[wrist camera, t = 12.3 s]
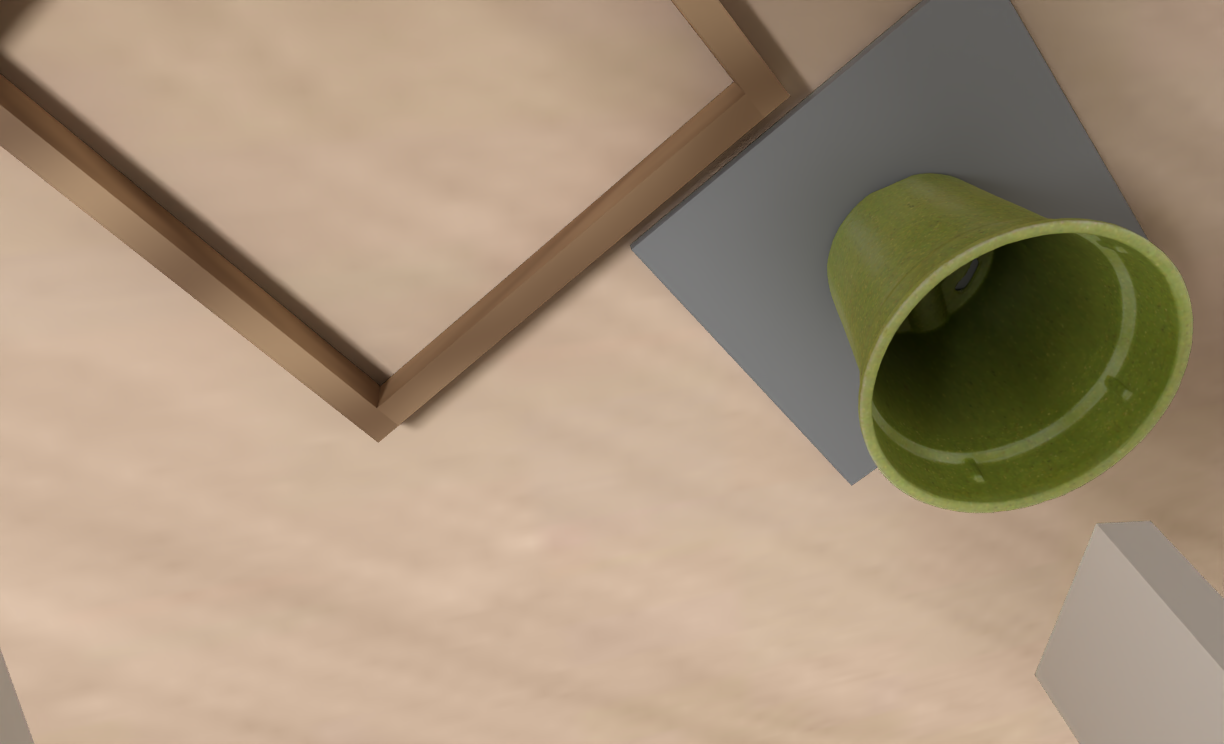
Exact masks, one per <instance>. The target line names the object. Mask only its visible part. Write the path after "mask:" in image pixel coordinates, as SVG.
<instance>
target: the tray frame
mask: <svg viewBox="0 0 1224 744" xmlns="http://www.w3.org/2000/svg"><path fill="white" fill-rule="evenodd" d="M671 1H672V2H673V3H674V5H675V6H676V7H677V9H678V10H679V11H680V12H681V14H682V15H683V16H684V18H685V19H686V20H687V21H688V23H689V24H690V25H691V27H692V28H693V29H694V30H695V32H696V33H697V34H698V36H699V37H700V38H701V39H702V41H703V42H704V43H705V45H706V46H707V47H708V49H709V50H710V51H711V52H712V54H713V55H714V56H715V58H716V59H717V60H718V61H719V63H720V64H721V65H722V67H723V68H724V69H725V70H726V72H727V73H728V74H729V76H730V77H731V78H732V79H733V81H734V82H733V83H732V84H731V85H730V86H729V87H727V88H726V89H725V90H724V91H723V92H722V93H720V94H719V95H718V96H717V97H716V98H715V99H713V100H712V101H711V102H710V103H709V104H708V105H706V106H705V107H704V108H703V109H702V110H701V111H700V112H698V113H697V114H696V115H695V116H694V117H693V118H691V119H690V120H689V121H688V122H687V123H686V124H684V125H683V126H682V127H681V128H680V129H679V130H677V131H676V132H675V133H674V134H673V135H672V136H670V137H669V138H668V139H667V140H666V141H665V142H663V143H662V144H661V145H660V146H659V147H658V148H656V149H655V150H654V151H653V152H652V153H651V154H650V155H648V156H647V157H646V158H645V159H644V160H643V161H641V162H640V163H639V164H638V165H637V166H636V167H634V168H633V169H632V170H631V171H630V172H629V173H627V174H626V175H625V176H624V177H623V178H622V179H620V180H619V181H618V182H617V183H616V184H615V185H613V186H612V187H611V188H610V189H609V190H608V191H607V192H605V193H604V194H603V195H602V196H601V197H600V198H598V199H597V200H596V201H595V202H594V203H593V204H591V205H590V206H589V207H588V208H587V209H586V210H584V211H583V212H582V213H581V214H580V215H579V216H577V217H576V218H575V219H574V220H573V221H572V222H570V223H569V224H568V225H567V226H566V227H565V228H563V229H562V230H561V231H560V232H559V233H558V234H557V235H555V236H554V237H553V238H552V239H551V240H550V241H548V242H547V243H546V244H545V245H544V246H543V247H541V248H540V249H539V250H538V251H537V252H536V253H534V254H533V255H532V256H531V257H530V258H529V259H527V260H526V261H525V262H524V263H523V264H522V265H520V266H519V267H518V268H517V269H516V270H515V271H513V272H512V273H511V274H510V275H509V276H508V277H507V278H505V279H504V280H503V281H502V282H501V283H500V284H498V285H497V286H496V287H495V288H494V289H493V290H491V291H490V292H489V293H488V294H487V295H486V296H484V297H483V298H482V299H481V300H480V301H479V302H477V303H476V304H475V305H474V306H473V307H472V308H470V309H469V310H468V311H467V312H466V313H465V314H464V315H462V316H461V317H460V318H459V319H458V320H457V321H455V322H454V323H453V324H452V325H451V326H450V327H448V328H447V329H446V330H445V331H444V332H443V333H441V334H440V335H439V336H438V337H437V338H436V339H434V340H433V341H432V342H431V343H430V344H429V345H427V346H426V347H425V348H424V349H423V350H422V351H420V352H419V353H418V354H417V355H416V356H415V357H414V358H412V359H411V360H410V361H409V362H408V363H407V364H405V365H404V366H403V367H402V368H401V369H400V370H398V371H397V372H396V373H395V374H394V375H393V376H391V377H390V378H389V379H388V380H387V381H386V382H384V383H383V384H382V385H381V386H380V385H378V384H377V383H376V382H375V381H374V380H372V379H371V378H370V377H369V376H367V375H366V374H365V373H364V372H363V371H361V370H360V369H359V368H358V367H357V366H355V365H354V364H353V363H352V362H350V361H349V360H348V359H347V358H346V357H344V356H343V355H342V354H341V353H339V352H338V351H337V350H336V349H335V348H333V347H332V346H331V345H330V344H329V343H327V342H326V341H325V340H324V339H322V338H321V337H320V336H319V335H318V334H316V333H315V332H314V331H313V330H311V329H310V328H309V327H308V326H307V325H305V324H304V323H303V322H302V321H301V320H299V319H298V318H297V317H296V316H294V315H293V314H292V313H291V312H290V311H288V310H287V309H286V308H285V307H284V306H282V305H281V304H280V303H279V302H277V301H276V300H275V299H274V298H273V297H271V296H270V295H269V294H268V293H266V292H265V291H264V290H263V289H262V288H260V287H259V286H258V285H257V284H256V283H254V282H253V281H252V280H251V279H249V278H248V277H247V276H246V275H245V274H243V273H242V272H241V271H240V270H238V269H237V268H236V267H235V266H234V265H232V264H231V263H230V262H229V261H228V260H226V259H225V258H224V257H223V256H221V255H220V254H219V253H218V252H217V251H215V250H214V249H213V248H212V247H211V246H209V245H208V244H207V243H206V242H204V241H203V240H202V239H201V238H200V237H198V236H197V235H196V234H195V233H193V232H192V231H191V230H190V229H189V228H187V227H186V226H185V225H184V224H183V223H181V222H180V221H179V220H178V219H176V218H175V217H174V216H173V215H172V214H170V213H169V212H168V211H167V210H165V209H164V208H163V207H162V206H161V205H159V204H158V203H157V202H156V201H155V200H153V199H152V198H151V197H150V196H148V195H147V194H146V193H145V192H144V191H142V190H141V189H140V188H139V187H138V186H136V185H135V184H134V183H133V182H131V181H130V180H129V179H128V178H127V177H125V176H124V175H123V174H122V173H120V172H119V171H118V170H117V169H116V168H114V167H113V166H112V165H111V164H110V163H108V162H107V161H106V160H105V159H103V158H102V157H101V156H100V155H99V154H97V153H96V152H95V151H94V150H92V149H91V148H90V147H89V146H88V145H86V144H85V143H84V142H83V141H82V140H80V139H79V138H78V137H77V136H75V135H74V134H73V133H72V132H71V131H69V130H68V129H67V128H66V127H64V126H63V125H62V124H61V123H60V122H58V121H57V120H56V119H55V118H54V117H52V116H51V115H50V114H49V113H47V112H46V111H45V110H44V109H43V108H41V107H40V106H39V105H38V104H37V103H35V102H34V101H33V100H32V99H30V98H29V97H28V96H27V95H26V94H24V93H23V92H22V91H21V90H19V89H18V88H17V87H16V86H15V85H13V84H12V83H11V82H10V81H9V80H7V79H6V78H5V77H4V76H2V75H1V74H0V146H2V147H3V148H4V149H5V150H7V151H8V152H9V153H10V154H12V155H13V156H14V157H16V158H17V159H18V160H19V161H21V162H22V163H23V164H24V165H26V166H27V167H28V168H30V169H31V170H32V171H33V172H35V173H36V174H37V175H38V176H40V177H41V178H42V179H44V180H45V181H46V182H47V183H49V184H50V185H51V186H52V187H54V188H55V189H56V190H58V191H59V192H60V193H61V194H63V195H64V196H65V197H66V198H68V199H69V200H70V201H72V202H73V203H74V204H75V205H77V206H78V207H79V208H80V209H82V210H83V211H84V212H85V213H87V214H88V215H89V216H91V217H92V218H93V219H94V220H96V221H97V222H98V223H99V224H101V225H102V226H103V227H105V228H106V229H107V230H108V231H110V232H111V233H112V234H113V235H115V236H116V237H117V238H119V239H120V240H121V241H122V242H124V243H125V244H126V245H127V246H129V247H130V248H131V249H133V250H134V251H135V252H136V253H138V254H139V255H140V256H141V257H143V258H144V259H145V260H147V261H148V262H149V263H150V264H152V265H153V266H154V267H155V268H157V269H158V270H159V271H161V272H162V273H163V274H164V275H166V276H167V277H168V278H169V279H171V280H172V281H173V282H175V283H176V284H177V285H178V286H180V287H181V288H182V289H183V290H185V291H186V292H187V293H189V294H190V295H191V296H192V297H194V298H195V299H196V300H197V301H199V302H200V303H201V304H203V305H204V306H205V307H206V308H208V309H209V310H210V311H211V312H213V313H214V314H215V315H217V316H218V317H219V318H220V319H222V320H223V321H224V322H225V323H227V324H228V325H229V326H231V327H232V328H233V329H234V330H236V331H237V332H238V333H239V334H241V335H242V336H243V337H245V338H246V339H247V340H248V341H250V342H251V343H252V344H253V345H255V346H256V347H257V348H259V349H260V350H261V351H262V352H264V353H265V354H266V355H267V356H269V357H270V358H271V359H273V360H274V361H275V362H276V363H278V364H279V365H280V366H281V367H283V368H284V369H285V370H287V371H288V372H289V373H290V374H292V375H293V376H294V377H295V378H297V379H298V380H299V381H300V382H302V383H303V384H304V385H306V386H307V387H308V388H309V389H311V390H312V391H313V392H314V393H316V394H317V395H318V396H320V397H321V398H322V399H323V400H325V401H326V402H327V403H328V404H330V405H331V406H332V407H334V408H335V409H336V410H337V411H339V412H340V413H341V414H342V415H344V416H345V417H346V418H348V419H349V420H350V421H351V422H353V423H354V424H355V425H356V426H358V427H359V428H360V429H362V430H363V431H364V432H365V433H367V434H368V435H369V436H370V437H372V438H373V439H374V440H376V441H377V442H380V441H381V440H382V439H383V438H384V437H386V436H387V435H388V434H389V433H390V432H392V431H393V430H394V429H395V428H396V427H397V426H399V425H400V424H401V423H402V422H403V421H405V420H406V419H407V418H408V417H409V416H411V415H412V414H413V413H414V412H415V411H417V410H418V409H419V408H420V407H421V406H422V405H424V404H425V403H426V402H427V401H428V400H430V399H431V398H432V397H433V396H434V395H436V394H437V393H438V392H439V391H440V390H441V389H443V388H444V387H445V386H446V385H447V384H449V383H450V382H451V381H452V380H453V379H455V378H456V377H457V376H458V375H459V374H461V373H462V372H463V371H464V370H465V369H466V368H468V367H469V366H470V365H471V364H472V363H474V362H475V361H476V360H477V359H478V358H480V357H481V356H482V355H483V354H484V353H485V352H487V351H488V350H489V349H490V348H491V347H493V346H494V345H495V344H496V343H497V342H499V341H500V340H501V339H502V338H503V337H505V336H506V335H507V334H508V333H509V332H510V331H512V330H513V329H514V328H515V327H516V326H518V325H519V324H520V323H521V322H522V321H524V320H525V319H526V318H527V317H528V316H529V315H531V314H532V313H533V312H534V311H535V310H537V309H538V308H539V307H540V306H541V305H543V304H544V303H545V302H546V301H547V300H549V299H550V298H551V297H552V296H553V295H554V294H556V293H557V292H558V291H559V290H560V289H562V288H563V287H564V286H565V285H566V284H568V283H569V282H570V281H571V280H572V279H573V278H575V277H576V276H577V275H578V274H579V273H581V272H582V271H583V270H584V269H585V268H587V267H588V266H589V265H590V264H591V263H593V262H594V261H595V260H596V259H597V258H598V257H600V256H601V255H602V254H603V253H604V252H606V251H607V250H608V249H609V248H610V247H612V246H613V245H614V244H615V243H616V242H618V241H619V240H620V239H621V238H622V237H623V236H625V235H626V234H627V233H628V232H629V231H631V230H632V229H633V228H634V227H635V226H637V225H638V224H639V223H640V222H641V221H642V220H644V219H645V218H646V217H647V216H648V215H650V214H651V213H652V212H653V211H654V210H656V209H657V208H658V207H659V206H660V205H662V204H663V203H664V202H665V201H666V200H667V199H669V198H670V197H671V196H672V195H673V194H675V193H676V192H677V191H678V190H679V189H681V188H682V187H683V186H684V185H685V184H686V183H688V182H689V181H690V180H691V179H692V178H694V177H695V176H696V175H697V174H698V173H700V172H701V171H702V170H703V169H704V168H706V167H707V166H708V165H709V164H710V163H711V162H713V161H714V160H715V159H716V158H717V157H719V156H720V155H721V154H722V153H723V152H725V151H726V150H727V149H728V148H729V147H730V146H732V145H733V144H734V143H735V142H736V141H738V140H739V139H740V138H741V137H742V136H744V135H745V134H746V133H747V132H748V131H750V130H751V129H752V128H753V127H754V126H755V125H757V124H758V123H759V122H760V121H761V120H763V119H764V118H765V117H766V116H767V115H769V114H770V113H771V112H772V111H773V110H774V109H776V108H777V107H778V106H779V105H780V104H782V103H783V102H784V101H785V100H786V99H788V98H789V97H790V95H789V94H788V92H787V91H786V90H785V88H784V87H783V86H782V84H781V83H780V82H779V80H778V79H777V78H776V76H775V75H774V74H773V72H772V71H771V70H770V68H769V67H768V66H767V64H766V63H765V62H764V60H763V59H762V57H761V56H760V55H759V53H758V52H757V51H756V49H755V48H754V47H753V45H752V44H751V43H750V41H749V40H748V39H747V37H746V36H745V35H744V33H743V32H742V31H741V29H740V28H739V27H738V25H737V24H736V23H735V21H734V20H733V19H732V17H731V16H730V15H729V13H728V12H727V11H726V9H725V8H724V7H723V5H722V4H721V3H720V1H719V0H671Z"/></svg>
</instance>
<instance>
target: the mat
mask: <svg viewBox="0 0 1224 744" xmlns="http://www.w3.org/2000/svg"><path fill="white" fill-rule="evenodd" d="M926 173H934V174H943V175H948V176H952V177H955V178H958V179H960V180H963V181H965V182H967V183H969V184H971V185H973V186H975V187H978V188H980V189H982V190H984V191H986V192H988V193H991V194H993V195H995V196H997V197H1000V198H1002V199H1004V200H1007V201H1009V202H1011V203H1014V204H1016V205H1018V206H1021V207H1023V208H1025V209H1027V210H1029V211H1032V212H1034V213H1036V214H1038V215H1041V216H1043V217H1045V218H1050V219H1059V218H1081V219H1091V220H1097V221H1103V222H1107V223H1112V224H1115V225H1118V226H1121V227H1123V228H1126V229H1128V230H1130V231H1132V232H1134V233H1136V234H1138V235H1140V236H1142V237H1143V238H1145V239H1147V240H1148V238H1147V237H1146V235H1145V233H1144V232H1143V230H1142V228H1141V226H1140V225H1139V223H1138V221H1137V219H1136V218H1135V216H1134V214H1133V213H1132V211H1131V209H1130V207H1129V206H1128V204H1127V202H1126V200H1125V199H1124V197H1123V195H1122V194H1121V192H1120V190H1119V188H1118V187H1117V185H1116V183H1115V181H1114V180H1113V178H1112V176H1111V175H1110V173H1109V171H1108V169H1107V168H1106V166H1105V164H1104V162H1103V161H1102V159H1101V157H1100V155H1099V154H1098V152H1097V150H1096V149H1095V147H1094V145H1093V143H1092V142H1091V140H1090V138H1089V136H1088V135H1087V133H1086V131H1085V130H1084V128H1083V126H1082V124H1081V123H1080V121H1079V119H1078V117H1077V116H1076V114H1075V112H1074V111H1073V109H1072V107H1071V105H1070V104H1069V102H1068V100H1067V98H1066V97H1065V95H1064V93H1063V92H1062V90H1061V88H1060V86H1059V85H1058V83H1057V81H1056V79H1055V78H1054V76H1053V74H1052V73H1051V71H1050V69H1049V67H1048V66H1047V64H1046V62H1045V60H1044V59H1043V57H1042V55H1041V53H1040V52H1039V50H1038V48H1037V47H1036V45H1035V43H1034V41H1033V40H1032V38H1031V36H1030V34H1029V33H1028V31H1027V29H1026V28H1025V26H1024V24H1023V22H1022V21H1021V19H1020V17H1019V15H1018V14H1017V12H1016V10H1015V9H1014V7H1013V5H1012V3H1011V2H1010V0H922V1H921V2H920V3H919V4H918V5H916V6H915V7H914V8H913V9H912V10H910V11H909V12H908V13H907V14H906V15H904V16H903V17H902V18H901V19H900V20H899V21H897V22H896V23H895V24H894V25H893V26H891V27H890V28H889V29H888V30H887V31H885V32H884V33H883V34H882V35H881V36H879V37H878V38H877V39H876V40H875V41H873V42H872V43H871V44H870V45H869V46H867V47H866V48H865V49H864V50H863V51H861V52H860V53H859V54H858V55H857V56H855V57H854V58H853V59H852V60H851V61H849V62H848V63H847V64H846V65H845V66H844V67H842V68H841V69H840V70H839V71H838V72H836V73H835V74H834V75H833V76H832V77H830V78H829V79H828V80H827V81H826V82H824V83H823V84H822V85H821V86H820V87H818V88H817V89H816V90H815V91H814V92H812V93H811V94H810V95H809V96H808V97H806V98H805V99H804V100H803V101H802V102H800V103H799V104H798V105H797V106H796V107H794V108H793V109H792V110H791V111H790V112H789V113H787V114H786V115H785V116H784V117H783V118H781V119H780V120H779V121H778V122H777V123H775V124H774V125H773V126H772V127H771V128H769V129H768V130H767V131H766V132H765V133H763V134H762V135H761V136H760V137H759V138H757V139H756V140H755V141H754V142H753V143H751V144H750V145H749V146H748V147H747V148H745V149H744V150H743V151H742V152H741V153H739V154H738V155H737V156H736V157H735V158H734V159H732V160H731V161H730V162H729V163H728V164H726V165H725V166H724V167H723V168H722V169H720V170H719V171H718V172H717V173H716V174H714V175H713V176H712V177H711V178H710V179H708V180H707V181H706V182H705V183H704V184H702V185H701V186H700V187H699V188H698V189H696V190H695V191H694V192H693V193H692V194H690V195H689V196H688V197H687V198H686V199H684V200H683V201H682V202H681V203H680V204H679V205H677V206H676V207H675V208H674V209H673V210H671V211H670V212H669V213H668V214H667V215H665V216H664V217H663V218H662V219H661V220H659V221H658V222H657V223H656V224H655V225H653V226H652V227H651V228H650V229H649V230H647V231H646V232H645V233H644V234H643V235H641V236H640V237H639V238H638V239H637V240H635V241H634V242H633V243H632V244H631V245H630V247H631V250H632V251H633V252H634V253H635V254H636V255H637V256H638V257H639V258H640V259H641V261H642V262H643V263H644V264H645V265H646V266H647V267H648V268H649V269H650V270H651V271H652V272H653V273H654V274H655V276H656V277H657V278H658V279H659V280H660V281H661V282H662V283H663V284H664V285H665V286H666V287H667V288H668V289H669V291H670V292H671V293H672V294H673V295H674V296H675V297H676V298H677V299H678V300H679V301H680V302H681V303H682V304H683V306H684V307H685V308H686V309H687V310H688V311H689V312H690V313H691V314H692V315H693V316H694V317H695V318H696V319H697V321H698V322H699V323H700V324H701V325H702V326H703V327H704V328H705V329H706V330H707V331H708V332H709V333H710V334H711V336H712V337H713V338H714V339H715V340H716V341H717V342H718V343H719V344H720V345H721V346H722V347H723V348H724V349H725V351H726V352H727V353H728V354H729V355H730V356H731V357H732V358H733V359H734V360H735V361H736V362H737V363H738V364H739V366H740V367H741V368H742V369H743V370H744V371H745V372H746V373H747V374H748V375H749V376H750V377H751V378H752V379H753V381H754V382H755V383H756V384H757V385H758V386H759V387H760V388H761V389H762V390H763V391H764V392H765V393H766V394H767V396H768V397H769V398H770V399H771V400H772V401H773V402H774V403H775V404H776V405H777V406H778V407H779V408H780V409H781V411H782V412H783V413H784V414H785V415H786V416H787V417H788V418H789V419H790V420H791V421H792V422H793V423H794V424H795V426H796V427H797V428H798V429H799V430H800V431H801V432H802V433H803V434H804V435H805V436H806V437H807V438H808V439H809V441H810V442H811V443H812V444H813V445H814V446H815V447H816V448H817V449H818V450H819V451H820V452H821V453H822V454H823V456H824V457H825V458H826V459H827V460H828V461H829V462H830V463H831V464H832V465H833V466H834V467H835V468H836V469H837V471H838V472H839V473H840V474H841V475H842V476H843V477H844V478H845V479H846V480H847V481H848V482H849V483H850V484H851V486H852V485H853V484H855V483H856V482H858V481H859V480H860V479H862V478H863V477H865V476H866V475H868V474H869V473H870V472H872V471H873V470H875V469H876V468H877V466H876V464H875V463H874V461H873V459H872V457H871V456H870V454H869V451H868V449H867V446H866V444H865V441H864V438H863V435H862V432H861V428H860V422H859V413H858V396H859V387H860V371H859V368H858V365H857V363H856V360H855V357H854V354H853V351H852V349H851V346H850V343H849V340H848V338H847V335H846V332H845V330H844V327H843V324H842V322H841V319H840V317H839V314H838V312H837V309H836V307H835V304H834V301H833V299H832V296H831V292H830V288H829V283H828V276H827V263H828V256H829V252H830V249H831V245H832V242H833V239H834V237H835V235H836V233H837V231H838V229H839V227H840V225H841V224H842V223H843V221H844V220H845V218H846V217H847V216H848V214H849V213H850V212H851V211H852V210H853V208H854V207H855V206H856V205H857V204H858V203H859V202H860V201H862V200H863V199H864V198H865V197H867V196H868V195H869V194H871V193H873V192H875V191H878V190H880V189H882V188H885V187H887V186H890V185H892V184H894V183H896V182H898V181H901V180H903V179H905V178H908V177H910V176H912V175H917V174H926ZM1148 241H1149V240H1148ZM978 263H979V262H978V260H977V258H975V259H974V260H973V261H972V263H971V265H970V268H969V269H968V271H967V273H966V275H965V276H964V277H963V278H962V279H961V280H960V281H959V282H958V284H957V286H956V287H955V290H957V291H959V290H961V289H963V288H965V287H966V285H967V284H968V282H969V281H970V279H971V278H972V276H973V274H974V272H975V270H976V269H977V266H978Z"/></svg>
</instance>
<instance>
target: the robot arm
mask: <svg viewBox="0 0 1224 744" xmlns="http://www.w3.org/2000/svg"><path fill="white" fill-rule="evenodd" d="M1035 676H1036V678H1037V679H1038V681H1039V682H1040V684H1041V685H1042V687H1043V688H1044V690H1045V691H1046V693H1047V694H1048V696H1049V698H1050V699H1051V701H1052V702H1053V704H1054V705H1055V707H1056V708H1057V710H1058V711H1059V713H1060V714H1061V716H1062V717H1063V719H1064V721H1065V722H1066V724H1067V725H1068V727H1069V728H1070V730H1071V731H1072V733H1073V734H1074V736H1075V737H1076V739H1077V740H1078V742H1079V744H1224V598H1223V597H1222V596H1221V595H1220V594H1219V593H1218V592H1217V591H1216V590H1215V589H1214V588H1213V587H1212V586H1211V585H1210V584H1209V583H1208V581H1207V580H1206V579H1205V578H1204V577H1203V576H1202V575H1201V574H1200V573H1199V572H1198V571H1197V570H1196V569H1195V568H1194V567H1193V566H1192V564H1191V563H1190V562H1189V561H1188V560H1187V559H1186V558H1185V557H1184V556H1183V555H1182V554H1181V553H1180V552H1179V551H1178V550H1177V549H1176V547H1175V546H1174V545H1173V544H1172V543H1171V542H1170V541H1169V540H1168V539H1167V538H1166V537H1165V536H1164V535H1163V534H1162V533H1161V531H1160V530H1159V529H1158V528H1157V527H1156V526H1155V525H1154V524H1153V523H1152V522H1151V521H1138V522H1117V523H1096V525H1095V528H1094V530H1093V533H1092V535H1091V538H1090V540H1089V543H1088V545H1087V547H1086V550H1085V552H1084V555H1083V557H1082V560H1081V562H1080V565H1079V567H1078V570H1077V572H1076V574H1075V577H1074V579H1073V582H1072V584H1071V587H1070V589H1069V592H1068V594H1067V596H1066V599H1065V601H1064V604H1063V606H1062V609H1061V611H1060V614H1059V616H1058V618H1057V621H1056V623H1055V626H1054V628H1053V631H1052V633H1051V636H1050V638H1049V641H1048V643H1047V645H1046V648H1045V650H1044V653H1043V655H1042V658H1041V660H1040V663H1039V665H1038V667H1037V670H1036V672H1035ZM0 744H34V742H33V739H32V736H31V733H30V730H29V728H28V725H27V722H26V719H25V716H24V714H23V711H22V708H21V705H20V702H19V700H18V697H17V694H16V691H15V688H14V686H13V683H12V680H11V677H10V674H9V672H8V669H7V666H6V663H5V660H4V657H3V655H2V652H1V649H0Z"/></svg>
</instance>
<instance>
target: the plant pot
mask: <svg viewBox="0 0 1224 744" xmlns="http://www.w3.org/2000/svg"><path fill="white" fill-rule="evenodd" d="M975 258H977V260H978V262H979V263H978V266H977V269H976V270H975V272H974V274H973V276H972V278H971V279H970V281H969V282H968V284H967V285H966V287H965V288H963V289H961V290H959V291H957V290H955V287H956V286H957V284H958V282H959V281H960V280H961V279H962V278H963V277H964V276H965V275H966V273H967V271H968V269H969V268H970V265H971V263H972V261H973V260H974V259H975ZM827 276H828V283H829V288H830V292H831V296H832V299H833V301H834V304H835V307H836V309H837V312H838V314H839V317H840V319H841V322H842V324H843V327H844V330H845V332H846V335H847V338H848V340H849V343H850V346H851V349H852V351H853V354H854V357H855V360H856V363H857V365H858V368H859V371H860V387H859V396H858V413H859V422H860V428H861V432H862V435H863V438H864V441H865V444H866V446H867V449H868V451H869V454H870V456H871V457H872V459H873V461H874V463H875V464H876V466H877V467H878V468H879V470H880V471H881V473H882V474H883V475H884V476H885V477H886V478H887V479H888V480H889V481H890V482H891V483H892V484H893V485H894V486H896V487H897V488H898V489H899V490H901V491H902V492H904V493H905V494H907V495H909V496H911V497H913V498H914V499H916V500H919V501H921V502H923V503H926V504H929V505H932V506H935V507H939V508H943V509H947V510H953V511H958V512H967V513H994V512H999V511H1009V510H1014V509H1020V508H1025V507H1029V506H1033V505H1036V504H1039V503H1042V502H1044V501H1047V500H1051V499H1054V498H1057V497H1060V496H1063V495H1065V494H1067V493H1068V492H1070V491H1073V490H1075V489H1077V488H1079V487H1081V486H1083V485H1084V484H1086V483H1088V482H1089V481H1091V480H1093V479H1095V478H1096V477H1098V476H1099V475H1101V474H1102V473H1103V472H1105V471H1106V470H1108V469H1109V468H1110V467H1112V466H1113V465H1114V464H1116V463H1117V462H1118V461H1120V460H1121V459H1122V458H1123V457H1124V456H1125V455H1126V454H1128V453H1129V452H1130V451H1131V450H1133V448H1134V447H1135V446H1137V445H1138V444H1139V443H1140V442H1141V441H1142V440H1143V439H1144V438H1145V437H1146V436H1147V434H1148V433H1149V432H1150V431H1151V430H1152V428H1153V427H1154V426H1155V424H1156V423H1157V422H1158V421H1159V420H1160V418H1161V416H1162V415H1163V414H1164V412H1165V411H1166V409H1167V408H1168V407H1169V405H1170V403H1171V401H1172V400H1173V398H1174V396H1175V394H1176V392H1177V390H1178V388H1179V385H1180V382H1181V380H1182V377H1183V375H1184V372H1185V369H1186V366H1187V363H1188V359H1189V354H1190V352H1191V346H1192V334H1193V316H1192V307H1191V302H1190V298H1189V294H1188V291H1187V288H1186V285H1185V282H1184V280H1183V278H1182V276H1181V274H1180V272H1179V271H1178V269H1177V268H1176V266H1175V265H1174V264H1173V262H1172V261H1171V260H1170V259H1169V258H1168V256H1167V255H1166V254H1165V253H1164V252H1162V251H1161V250H1160V249H1159V248H1158V247H1156V246H1155V245H1154V244H1152V243H1151V242H1150V241H1148V240H1147V239H1145V238H1143V237H1142V236H1140V235H1138V234H1136V233H1134V232H1132V231H1130V230H1128V229H1126V228H1123V227H1121V226H1118V225H1115V224H1112V223H1107V222H1103V221H1097V220H1091V219H1081V218H1059V219H1050V218H1045V217H1043V216H1041V215H1038V214H1036V213H1034V212H1032V211H1029V210H1027V209H1025V208H1023V207H1021V206H1018V205H1016V204H1014V203H1011V202H1009V201H1007V200H1004V199H1002V198H1000V197H997V196H995V195H993V194H991V193H988V192H986V191H984V190H982V189H980V188H978V187H975V186H973V185H971V184H969V183H967V182H965V181H963V180H960V179H958V178H955V177H952V176H948V175H943V174H934V173H926V174H917V175H912V176H910V177H908V178H905V179H903V180H901V181H898V182H896V183H894V184H892V185H890V186H887V187H885V188H882V189H880V190H878V191H875V192H873V193H871V194H869V195H868V196H867V197H865V198H864V199H863V200H862V201H860V202H859V203H858V204H857V205H856V206H855V207H854V208H853V210H852V211H851V212H850V213H849V214H848V216H847V217H846V218H845V220H844V221H843V223H842V224H841V225H840V227H839V229H838V231H837V233H836V235H835V237H834V239H833V242H832V245H831V249H830V252H829V256H828V263H827Z"/></svg>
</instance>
